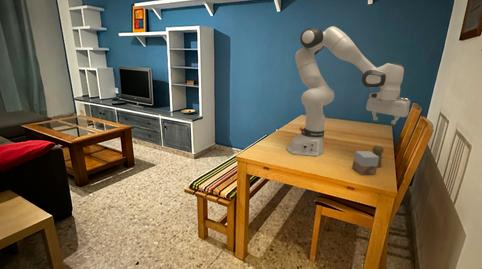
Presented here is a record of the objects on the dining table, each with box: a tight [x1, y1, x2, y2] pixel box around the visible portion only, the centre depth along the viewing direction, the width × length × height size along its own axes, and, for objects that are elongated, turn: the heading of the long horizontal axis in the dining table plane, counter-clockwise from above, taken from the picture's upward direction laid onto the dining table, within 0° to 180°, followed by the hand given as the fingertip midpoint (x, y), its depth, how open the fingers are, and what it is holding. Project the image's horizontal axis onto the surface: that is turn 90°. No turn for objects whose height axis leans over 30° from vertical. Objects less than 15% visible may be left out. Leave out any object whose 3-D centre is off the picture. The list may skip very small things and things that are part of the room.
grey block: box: [353, 150, 379, 167], centre depth 127 cm, size 8×8×5 cm
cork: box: [372, 145, 385, 168], centre depth 136 cm, size 6×6×11 cm
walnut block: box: [351, 159, 378, 176], centre depth 129 cm, size 8×8×5 cm
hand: (383, 122), depth 131 cm, fingers open, 8 cm apart
